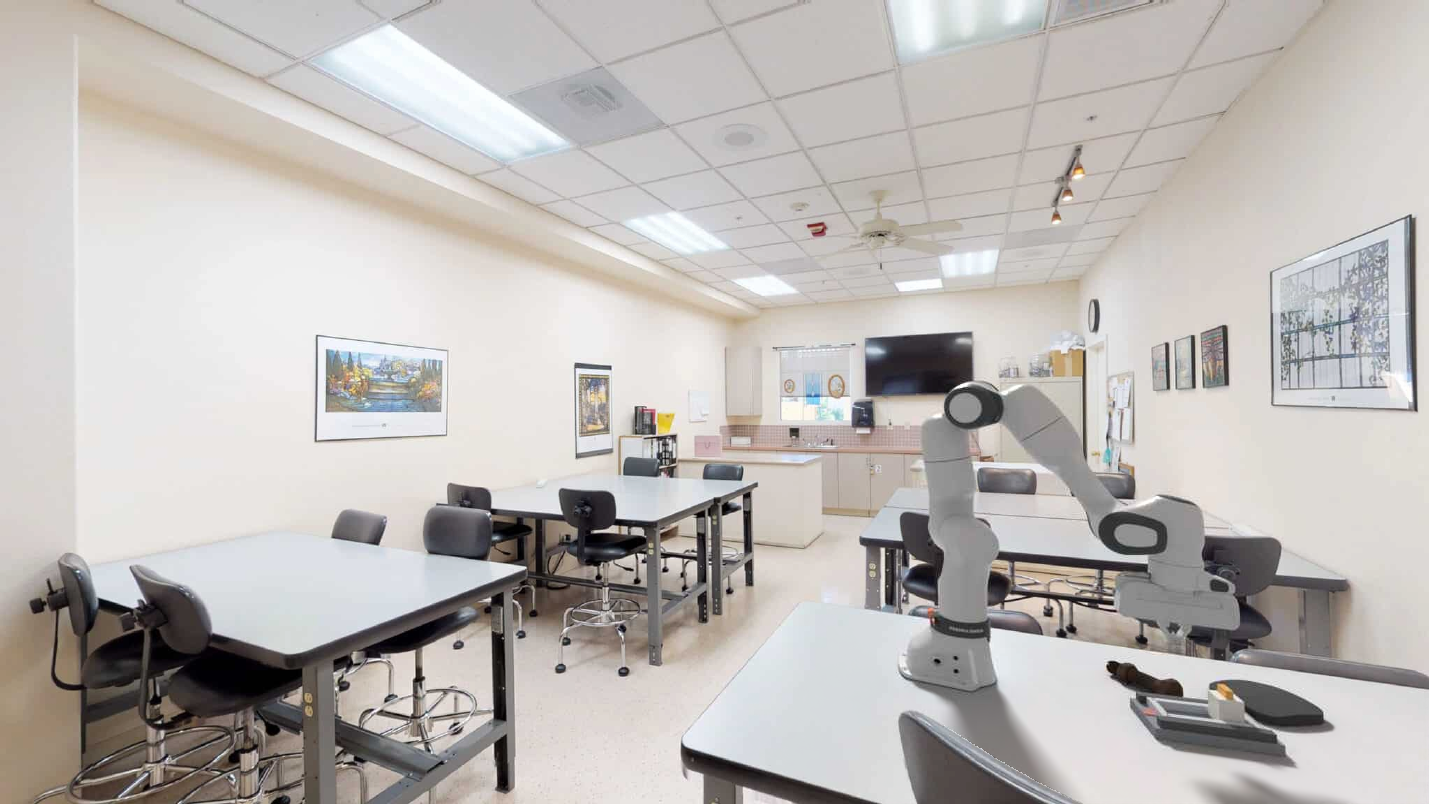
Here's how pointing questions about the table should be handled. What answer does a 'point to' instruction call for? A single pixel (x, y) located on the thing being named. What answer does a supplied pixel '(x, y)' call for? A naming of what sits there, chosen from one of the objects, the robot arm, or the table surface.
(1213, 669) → the table surface
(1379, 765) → the table surface
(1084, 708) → the table surface
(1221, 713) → the toggle
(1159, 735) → the panel
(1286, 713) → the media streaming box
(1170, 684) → the dark brown lumpy rod
